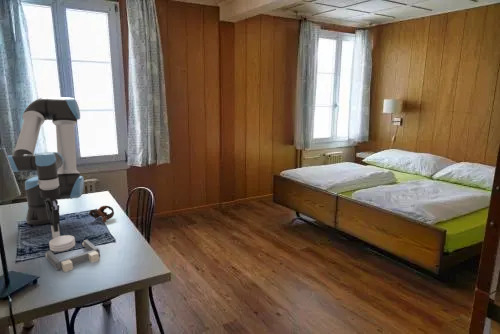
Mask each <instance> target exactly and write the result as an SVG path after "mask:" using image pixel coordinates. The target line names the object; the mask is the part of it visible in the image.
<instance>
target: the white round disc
mask: <svg viewBox="0 0 500 334" xmlns="http://www.w3.org/2000/svg"><path fill="white" fill-rule="evenodd" d="M48 245H49V251H51V252H55V253H56V252H57V253H58V252H65V251H68V250H71V249H72V248H74V247H75V246H76V238H75V236H73V235H69V234H66V235H65V234H64V235H60V236H59V237H56V238H54V239H53V238H52V239H50V241H48Z"/></svg>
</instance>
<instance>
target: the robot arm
mask: <svg viewBox="0 0 500 334" xmlns="http://www.w3.org/2000/svg"><path fill="white" fill-rule="evenodd" d="M80 119H81V111H80V108H79V104H78V102H77V100H76V98H73V97H40V98H37V99H35V100H34V101H32V102H31V103H30V104H28V105H27V106H26V107H25V109H24V111H23V114H22V120H23V122H22V125H21V129H20V132H19V135H18V139H17V142H16V145H15V148H14V152H13V154H11V155H9V154H8V155H7V156H8V159H9V161H10V165H11V168H12V170H13V172H12V173H20V172H35V171H36V173H37V176H33V177H30V178H28V179H26V180H25V182H24V190H25V195H26V196H25V197H26V201H27V208H28V209H27V212H26V216H25V221H26V224H27V225H33V226H35V225H36V226H37V225H45V224H49V223H50V224H49V225H50V228H51V236H52V237H51V238H52V239H54V238H56V237H59V236H61V234H60V226H59V225H60V224H61V221H60V205H58V204H59V202H58V200H69V199H70V200H73V199H78V198H80V197H82V195H83V192H84V186H85V178H84V176H82V175H81V172H80V171H78V168H77V155H76V153H77V152H76V138H75V137H76V135H75V126H76V125H77V124H78V121H79V120H80ZM47 120H49V121H52V122H51V123H52V124H53V125H54V126H55V132H56V151H57V152H55V151H53V152H52V151H51V152H50V151H45V152H44V151H43V152H39V153H36V154H35V150H36V147H37V142H38V139H39V134H40V131H41V128H42V125H44V123H45V122H46V121H47Z"/></svg>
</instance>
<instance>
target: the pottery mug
mask: <svg viewBox="0 0 500 334" xmlns="http://www.w3.org/2000/svg"><path fill="white" fill-rule="evenodd" d="M107 209H109V210H111V213H108V212H105V210H107ZM88 213H89V216H90V217H92V218H94V219H95V220H97V219H98V218H100V217H101V218H102V220H101V222H103V223H106V222H107V221H108V220H110V219H112V218H113V217H114V215H115V212H114V208H113V207H112V206H110V205H102V206H100V207H99V208H98V209H91V210H90V211H89V212H88Z"/></svg>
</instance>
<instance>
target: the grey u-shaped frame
mask: <svg viewBox="0 0 500 334" xmlns="http://www.w3.org/2000/svg"><path fill="white" fill-rule="evenodd" d="M81 244H82V246H83V247H84V248H85V249H86V250H87V251H86V252H83V253H81V254H76V255H74V256H73V255H72V256H71V257H67V258H64V259H61V260H60V259H59V257H57V256H56V255H55V254H54V253H53V251H51V250H47V251H46V252H45V257H46V259H47V260H48V261H49V263H51V265H52V266H53V267H54V268H55V269H56V271H61V270H62V271H63V272H64V273H65V272H69V271H72V270H74V266H76V265H78V264H82V263H84V262H88V261H89V262H90V263H95V262H98V261H100V257H101V254H100V253H101V252H100V248H98V247H97V246H96V245H94V244H93V243H92V242H91V241H89V239H85V240H83V242H82V243H81Z"/></svg>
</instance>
